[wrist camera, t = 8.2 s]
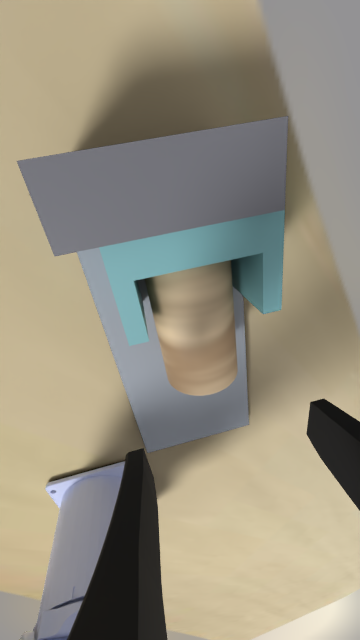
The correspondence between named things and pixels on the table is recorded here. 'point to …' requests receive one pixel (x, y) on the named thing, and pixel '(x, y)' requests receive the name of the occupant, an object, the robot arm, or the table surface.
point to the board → (150, 374)
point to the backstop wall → (158, 184)
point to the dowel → (196, 327)
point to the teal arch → (200, 263)
